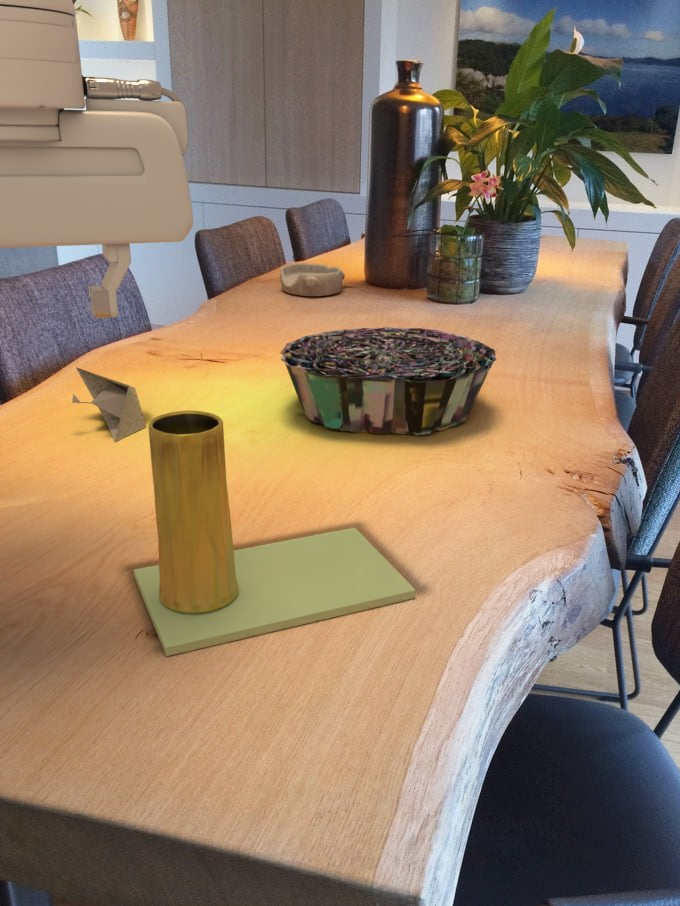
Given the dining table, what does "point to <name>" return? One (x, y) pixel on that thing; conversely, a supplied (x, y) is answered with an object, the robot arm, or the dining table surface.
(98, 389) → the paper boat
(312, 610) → the mat
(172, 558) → the vase
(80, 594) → the dining table surface
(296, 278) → the dish
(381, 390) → the decorative bowl
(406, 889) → the dining table surface
